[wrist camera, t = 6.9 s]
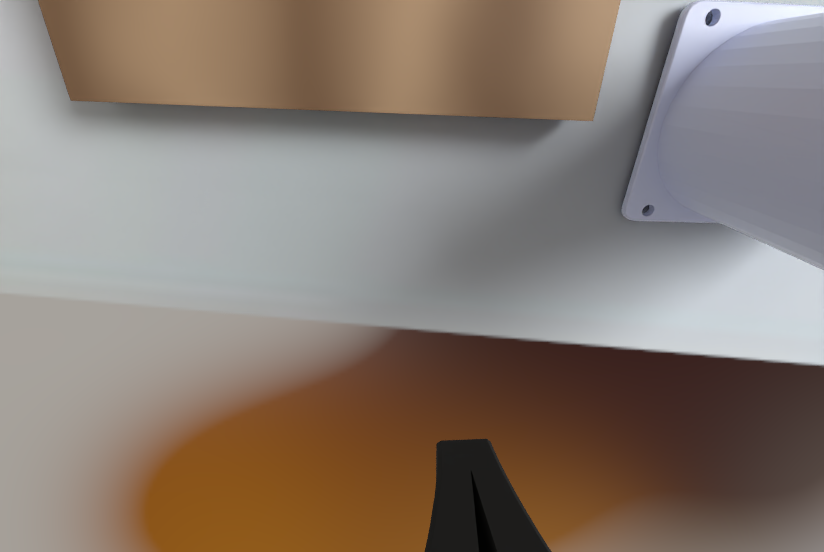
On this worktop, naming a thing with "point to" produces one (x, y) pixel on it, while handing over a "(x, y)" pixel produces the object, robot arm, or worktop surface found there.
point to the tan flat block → (339, 54)
